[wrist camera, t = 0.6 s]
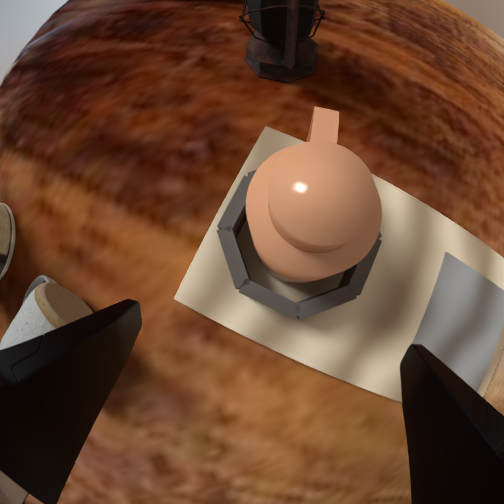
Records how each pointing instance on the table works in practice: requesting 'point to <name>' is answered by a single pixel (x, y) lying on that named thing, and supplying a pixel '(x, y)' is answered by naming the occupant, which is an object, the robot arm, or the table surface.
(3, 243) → the coffee can
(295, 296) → the board
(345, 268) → the peach jug
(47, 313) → the ceramic mug
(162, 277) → the table surface
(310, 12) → the lantern
